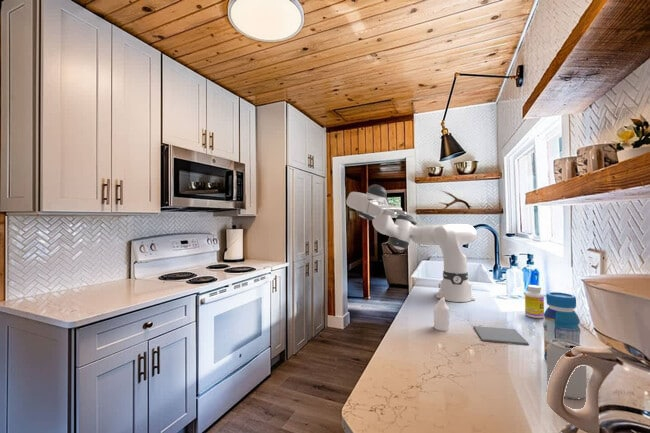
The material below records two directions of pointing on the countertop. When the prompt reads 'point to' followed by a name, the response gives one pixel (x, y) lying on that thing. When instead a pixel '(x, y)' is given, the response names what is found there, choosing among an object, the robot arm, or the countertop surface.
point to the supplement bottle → (534, 302)
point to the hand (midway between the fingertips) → (400, 214)
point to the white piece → (441, 316)
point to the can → (578, 378)
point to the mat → (500, 335)
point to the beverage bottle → (560, 319)
